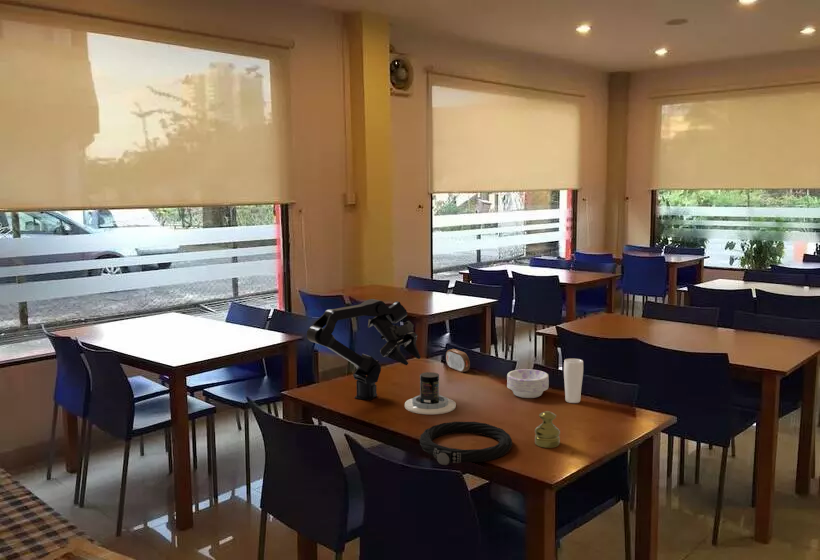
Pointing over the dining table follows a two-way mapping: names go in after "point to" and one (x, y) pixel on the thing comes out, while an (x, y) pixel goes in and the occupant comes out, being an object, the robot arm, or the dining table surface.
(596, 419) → the dining table surface
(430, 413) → the round tray
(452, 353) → the tin
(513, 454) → the dining table surface
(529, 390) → the paper bowls
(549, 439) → the gold tapered knobbed piece
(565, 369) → the drinking glass
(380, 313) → the robot arm
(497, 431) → the cable lock
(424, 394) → the supplement container
